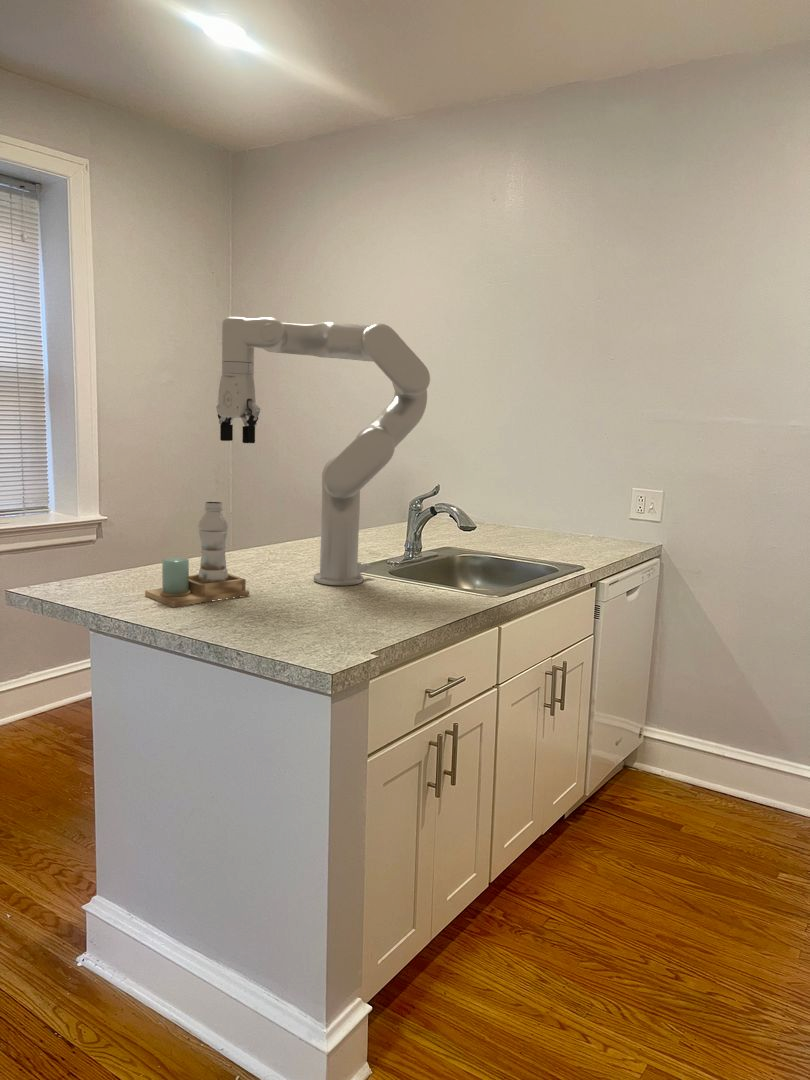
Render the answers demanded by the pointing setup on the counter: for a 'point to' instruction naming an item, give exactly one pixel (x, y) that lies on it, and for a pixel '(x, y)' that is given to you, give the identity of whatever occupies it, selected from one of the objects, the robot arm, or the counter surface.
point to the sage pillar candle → (175, 575)
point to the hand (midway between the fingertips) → (237, 441)
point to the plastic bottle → (213, 544)
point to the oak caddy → (202, 591)
